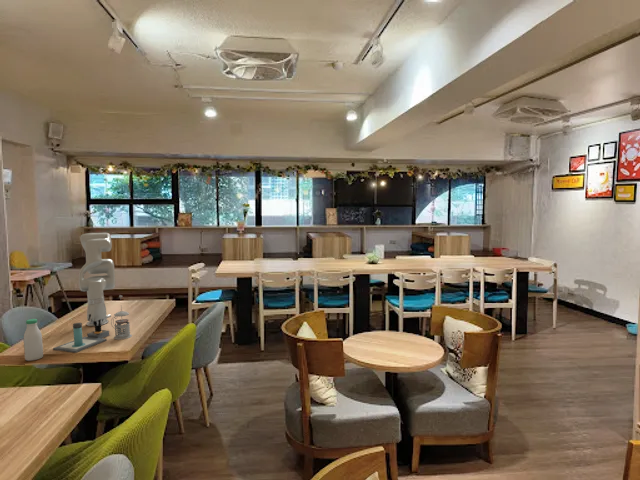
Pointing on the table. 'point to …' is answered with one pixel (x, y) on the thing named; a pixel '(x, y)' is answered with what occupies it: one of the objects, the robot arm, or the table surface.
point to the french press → (121, 326)
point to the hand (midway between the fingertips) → (98, 331)
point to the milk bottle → (33, 341)
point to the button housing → (100, 335)
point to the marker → (77, 334)
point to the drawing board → (86, 344)
